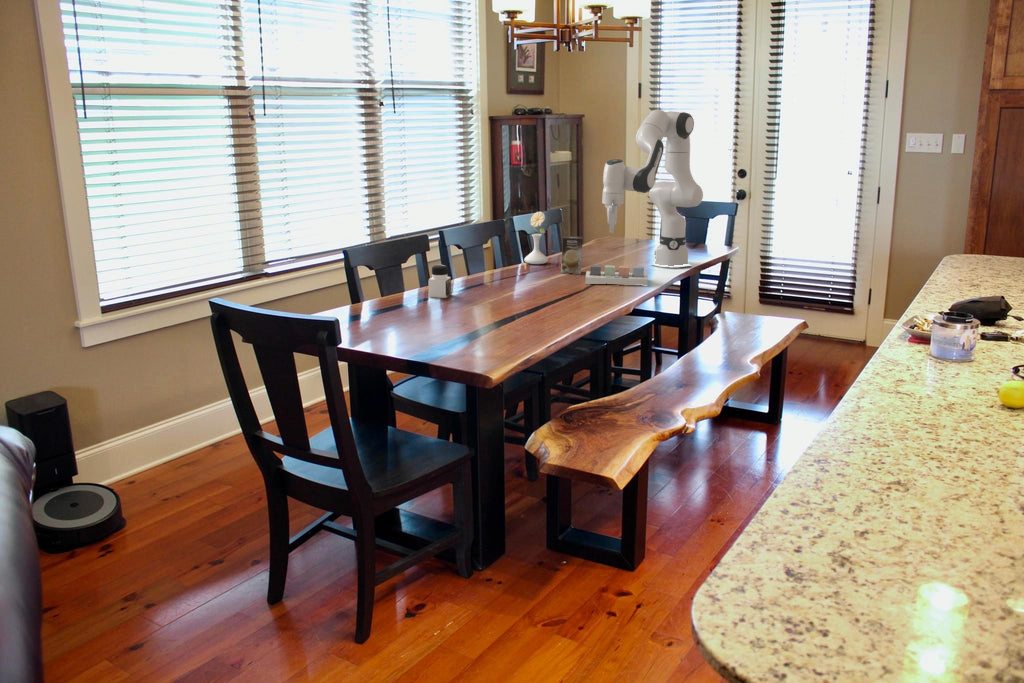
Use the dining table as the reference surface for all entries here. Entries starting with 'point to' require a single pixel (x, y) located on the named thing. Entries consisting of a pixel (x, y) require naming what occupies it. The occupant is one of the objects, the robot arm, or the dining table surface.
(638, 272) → the key slate
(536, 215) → the flower in vase
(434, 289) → the medicine bottle
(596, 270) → the key charcoal
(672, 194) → the robot arm
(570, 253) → the coffee box
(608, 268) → the key sage
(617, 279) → the keypad
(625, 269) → the key terracotta
